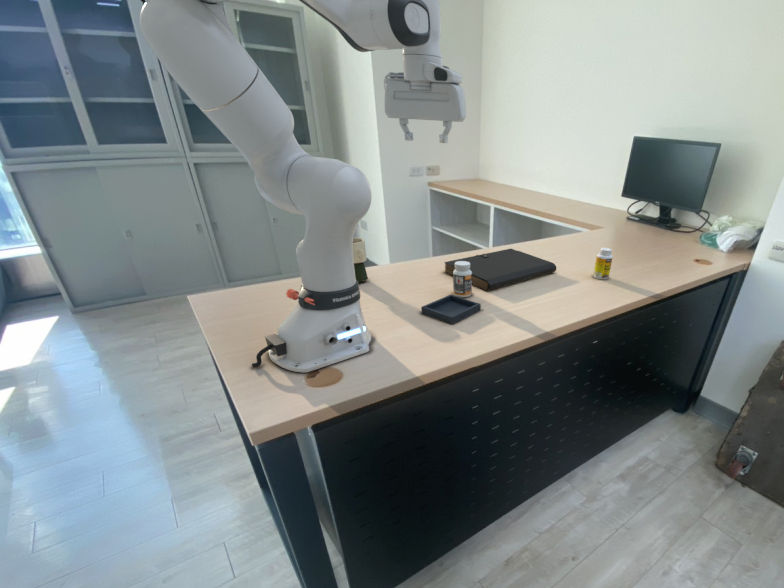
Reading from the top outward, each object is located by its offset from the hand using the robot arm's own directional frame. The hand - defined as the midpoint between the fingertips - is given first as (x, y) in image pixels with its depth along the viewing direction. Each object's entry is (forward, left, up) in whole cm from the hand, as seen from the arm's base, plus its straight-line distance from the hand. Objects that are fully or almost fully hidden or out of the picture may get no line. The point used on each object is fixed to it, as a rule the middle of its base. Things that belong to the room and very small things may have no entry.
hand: (426, 141), depth 101 cm
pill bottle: (+8, -5, -41) cm, 42 cm away
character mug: (-5, +28, -41) cm, 50 cm away
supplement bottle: (+55, -32, -41) cm, 76 cm away
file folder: (+34, -2, -41) cm, 53 cm away
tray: (-5, -11, -41) cm, 43 cm away
